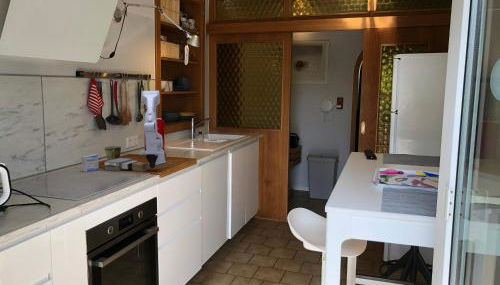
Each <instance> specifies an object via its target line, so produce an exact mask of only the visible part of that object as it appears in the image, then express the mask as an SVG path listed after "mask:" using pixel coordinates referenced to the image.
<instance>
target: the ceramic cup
mask: <svg viewBox="0 0 500 285" xmlns="http://www.w3.org/2000/svg"><path fill="white" fill-rule="evenodd" d="M103 149H104V154H105V156H106V159H107V160H106V161H109V160H113V159H117V158H121V150H122V146H121V145H109V146H104V148H103Z"/></svg>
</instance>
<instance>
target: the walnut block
mask: <svg viewBox="0 0 500 285" xmlns="http://www.w3.org/2000/svg"><path fill="white" fill-rule="evenodd" d="M149 167H150V165H149V162H140V161H139V162H137V163H132V168H131V171H135V172H146V171H149V170H150V168H149ZM148 169H149V170H148Z"/></svg>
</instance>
